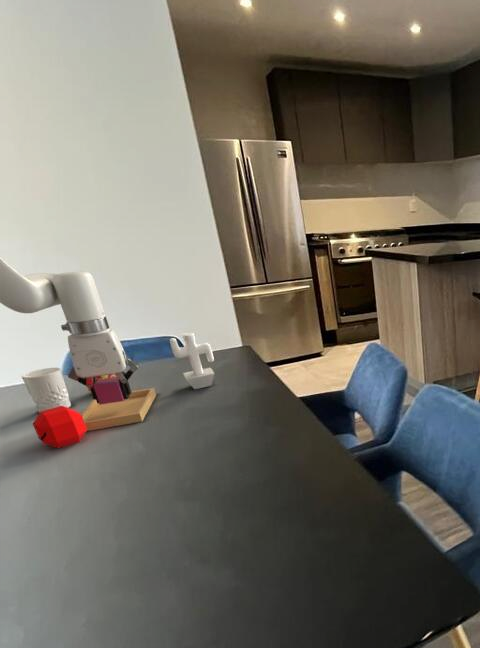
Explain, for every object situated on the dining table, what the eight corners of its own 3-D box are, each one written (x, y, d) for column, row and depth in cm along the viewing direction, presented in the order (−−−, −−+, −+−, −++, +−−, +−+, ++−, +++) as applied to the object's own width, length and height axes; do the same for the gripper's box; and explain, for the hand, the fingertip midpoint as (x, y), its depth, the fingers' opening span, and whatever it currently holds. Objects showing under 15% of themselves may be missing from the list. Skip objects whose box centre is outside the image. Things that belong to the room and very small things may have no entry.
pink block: (99, 404, 118) (92, 385, 116) (105, 398, 123) (98, 379, 121) (123, 401, 120) (117, 381, 118) (127, 394, 124) (121, 375, 122)
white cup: (40, 417, 123) (24, 379, 119) (34, 410, 128) (18, 373, 124) (77, 407, 128) (63, 370, 124) (70, 400, 133) (56, 365, 129)
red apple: (40, 444, 107) (26, 412, 104) (83, 431, 113) (71, 400, 110) (48, 454, 102) (34, 421, 99) (93, 440, 108) (80, 408, 105)
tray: (75, 433, 112) (72, 424, 111) (98, 404, 129) (95, 397, 128) (142, 421, 116) (139, 413, 115) (156, 395, 133) (154, 387, 132)
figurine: (221, 384, 138) (208, 332, 132) (185, 392, 133) (169, 339, 128) (217, 378, 144) (204, 328, 138) (182, 386, 139) (167, 334, 133)
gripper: (39, 335, 108) (68, 411, 115) (127, 325, 114) (150, 398, 120) (51, 328, 115) (78, 400, 122) (134, 319, 120) (155, 388, 127)
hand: (114, 398), depth 121 cm, fingers closed on pink block, 5 cm apart
